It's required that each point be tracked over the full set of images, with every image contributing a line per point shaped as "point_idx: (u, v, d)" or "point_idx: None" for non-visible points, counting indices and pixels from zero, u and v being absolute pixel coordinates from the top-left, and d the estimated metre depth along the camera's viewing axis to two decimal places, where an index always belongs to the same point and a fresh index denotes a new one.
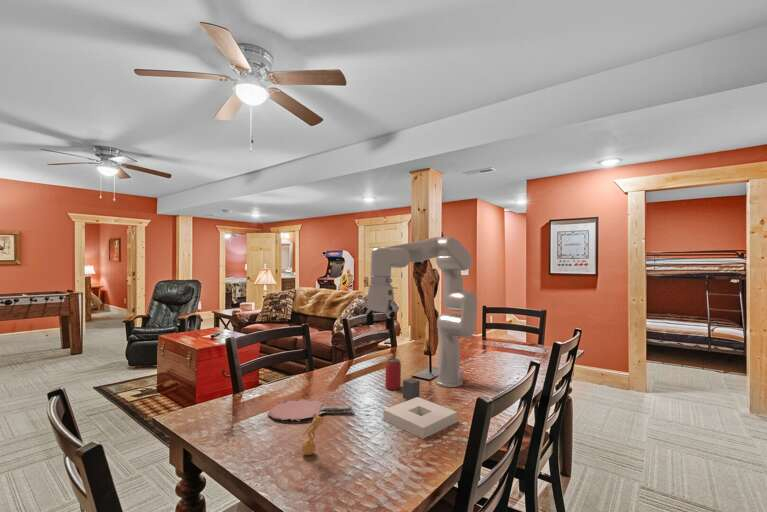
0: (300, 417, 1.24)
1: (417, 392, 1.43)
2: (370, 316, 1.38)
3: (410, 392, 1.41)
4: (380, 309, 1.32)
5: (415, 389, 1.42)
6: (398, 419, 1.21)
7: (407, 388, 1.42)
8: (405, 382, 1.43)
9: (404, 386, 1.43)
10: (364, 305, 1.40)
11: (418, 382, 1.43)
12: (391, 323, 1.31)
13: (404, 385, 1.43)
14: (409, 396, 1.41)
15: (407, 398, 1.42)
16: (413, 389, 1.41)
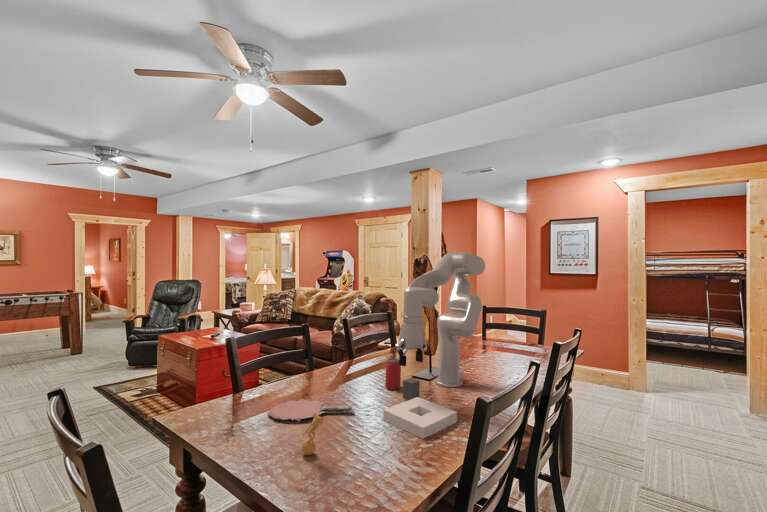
0: (300, 417, 1.24)
1: (417, 392, 1.43)
2: None
3: (410, 392, 1.41)
4: (419, 346, 1.44)
5: (415, 389, 1.42)
6: (398, 419, 1.21)
7: (407, 388, 1.42)
8: (405, 382, 1.43)
9: (404, 386, 1.43)
10: (399, 347, 1.38)
11: (418, 382, 1.43)
12: None
13: (404, 385, 1.43)
14: (409, 396, 1.41)
15: (407, 398, 1.42)
16: (413, 389, 1.41)
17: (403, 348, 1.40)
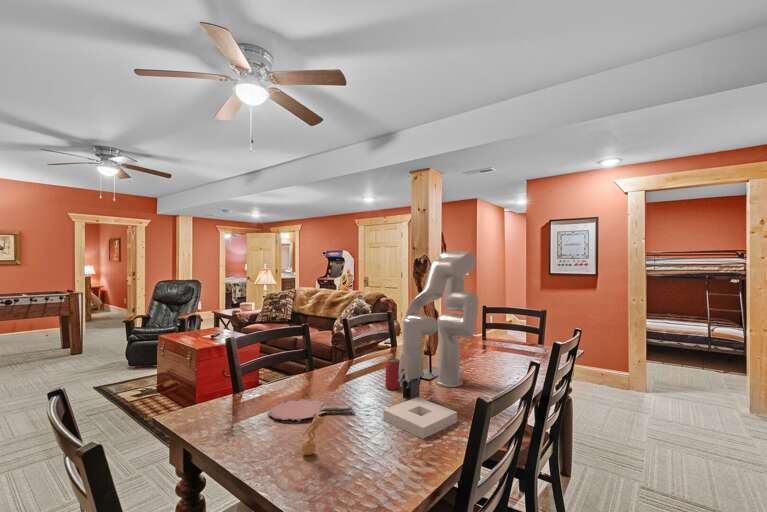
0: (300, 417, 1.24)
1: (417, 392, 1.43)
2: None
3: (410, 392, 1.41)
4: (419, 375, 1.44)
5: (415, 389, 1.42)
6: (398, 419, 1.21)
7: None
8: None
9: None
10: (402, 381, 1.39)
11: (418, 382, 1.43)
12: None
13: None
14: None
15: (407, 398, 1.42)
16: (413, 389, 1.41)
17: (405, 380, 1.41)
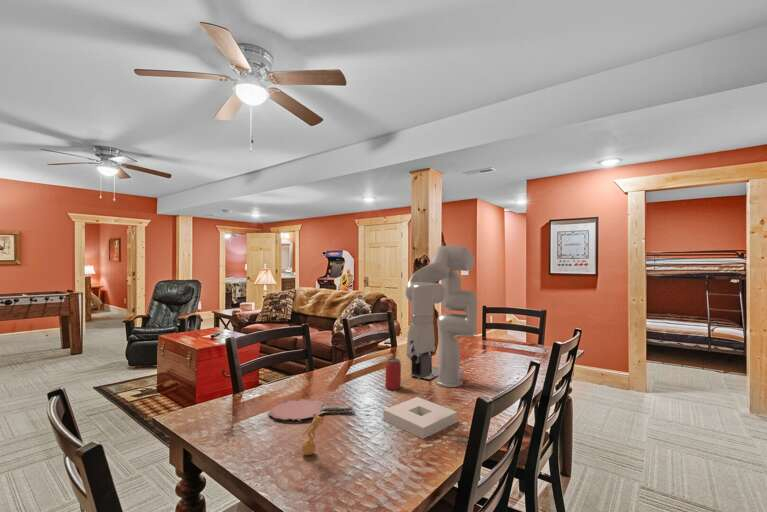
0: (301, 417, 1.24)
1: (428, 368, 1.25)
2: None
3: (420, 367, 1.23)
4: (430, 349, 1.26)
5: (425, 364, 1.24)
6: (398, 419, 1.21)
7: None
8: None
9: None
10: (411, 355, 1.22)
11: (429, 356, 1.26)
12: None
13: None
14: None
15: (416, 374, 1.24)
16: (424, 364, 1.24)
17: (414, 354, 1.24)
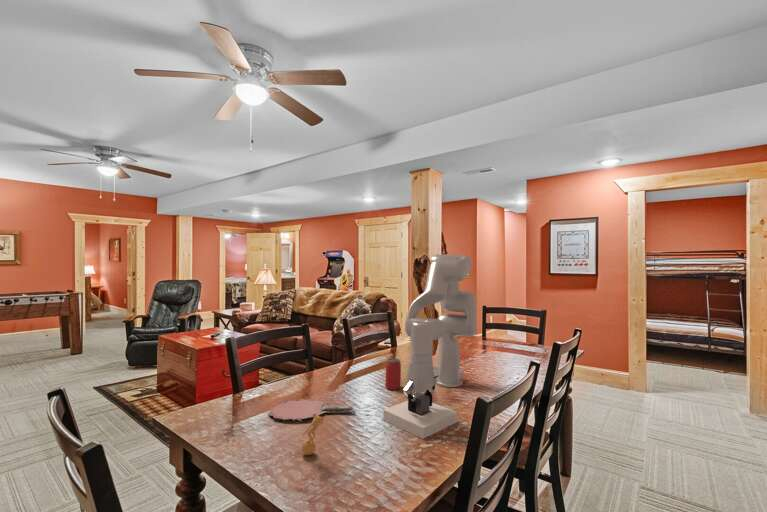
0: (301, 417, 1.24)
1: (427, 410, 1.25)
2: None
3: (419, 410, 1.23)
4: (429, 387, 1.26)
5: (424, 406, 1.24)
6: (398, 419, 1.21)
7: (416, 406, 1.24)
8: None
9: None
10: (408, 392, 1.21)
11: (428, 398, 1.25)
12: None
13: None
14: None
15: None
16: (423, 406, 1.24)
17: (412, 392, 1.23)
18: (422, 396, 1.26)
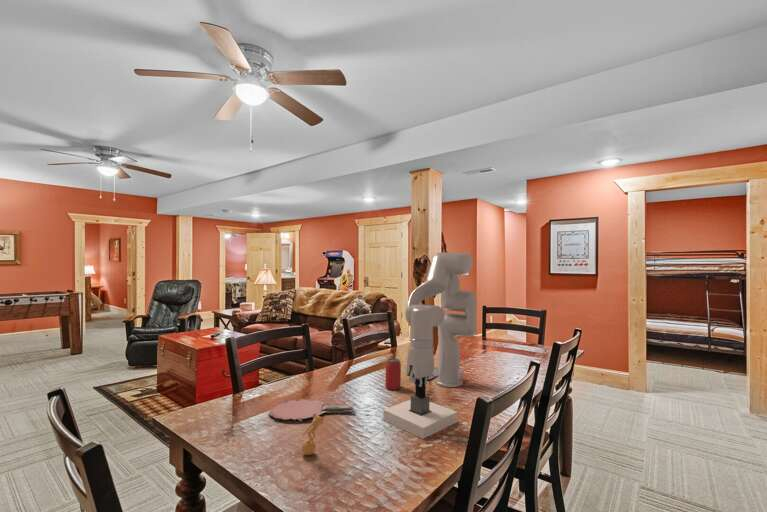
0: (302, 417, 1.24)
1: (427, 410, 1.25)
2: None
3: (419, 410, 1.23)
4: (429, 373, 1.26)
5: (424, 406, 1.24)
6: (398, 419, 1.21)
7: (416, 406, 1.24)
8: (413, 398, 1.25)
9: (412, 403, 1.25)
10: (414, 380, 1.23)
11: (428, 398, 1.25)
12: None
13: (412, 402, 1.25)
14: None
15: None
16: (423, 407, 1.24)
17: None
18: None
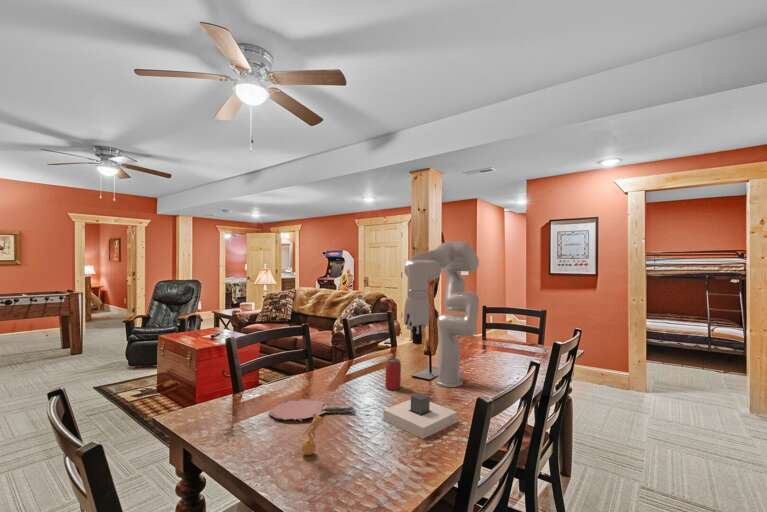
0: (302, 417, 1.24)
1: (427, 410, 1.25)
2: None
3: (419, 410, 1.23)
4: (425, 321, 1.35)
5: (424, 406, 1.24)
6: (398, 419, 1.21)
7: (416, 406, 1.24)
8: (413, 398, 1.25)
9: (412, 403, 1.25)
10: (411, 327, 1.32)
11: (428, 398, 1.25)
12: None
13: (412, 401, 1.25)
14: None
15: None
16: (423, 406, 1.24)
17: None
18: (422, 396, 1.26)
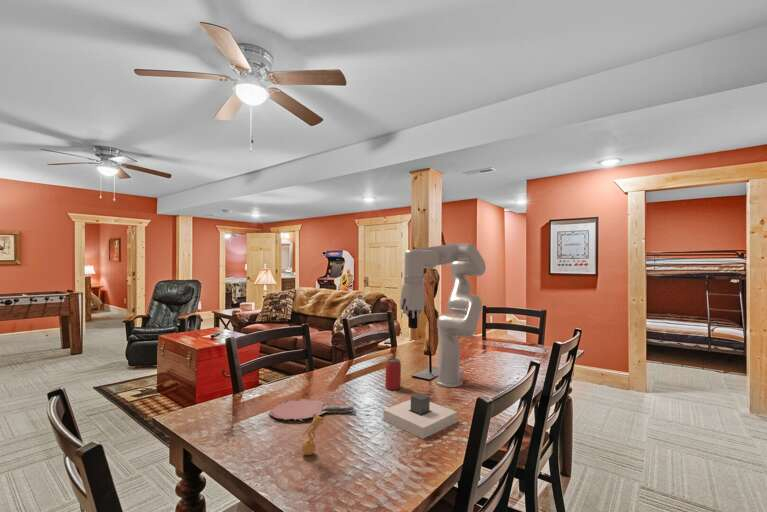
0: (302, 417, 1.24)
1: (427, 410, 1.25)
2: None
3: (419, 410, 1.23)
4: (421, 307, 1.43)
5: (424, 406, 1.24)
6: (398, 419, 1.21)
7: (416, 406, 1.24)
8: (413, 398, 1.25)
9: (412, 403, 1.25)
10: (407, 312, 1.39)
11: (428, 398, 1.25)
12: None
13: (412, 401, 1.25)
14: None
15: None
16: (423, 406, 1.24)
17: (409, 311, 1.41)
18: (422, 396, 1.26)
